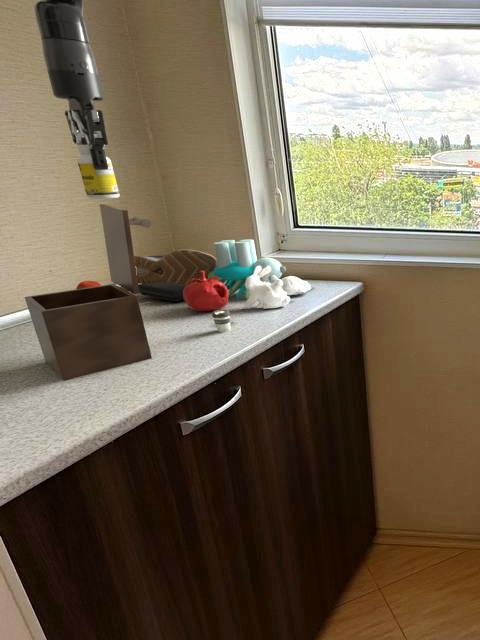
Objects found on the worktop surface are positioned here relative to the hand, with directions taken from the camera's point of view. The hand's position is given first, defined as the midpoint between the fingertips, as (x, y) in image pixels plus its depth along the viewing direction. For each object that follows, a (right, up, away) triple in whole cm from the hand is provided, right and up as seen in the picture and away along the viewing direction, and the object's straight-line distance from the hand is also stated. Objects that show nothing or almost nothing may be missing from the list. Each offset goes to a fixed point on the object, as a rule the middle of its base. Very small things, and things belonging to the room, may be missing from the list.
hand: (96, 168), depth 100 cm
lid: (+9, -17, -8) cm, 21 cm away
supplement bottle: (0, -5, +2) cm, 6 cm away
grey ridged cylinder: (+19, -32, +11) cm, 39 cm away
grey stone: (+25, -20, +39) cm, 50 cm away
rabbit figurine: (+22, -24, +29) cm, 43 cm away
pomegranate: (+8, -25, +26) cm, 37 cm away
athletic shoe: (-14, -13, +43) cm, 47 cm away
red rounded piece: (-18, -19, +21) cm, 33 cm away
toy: (+13, -6, +34) cm, 37 cm away
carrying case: (-14, -18, +39) cm, 45 cm away
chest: (+4, -38, -5) cm, 39 cm away
